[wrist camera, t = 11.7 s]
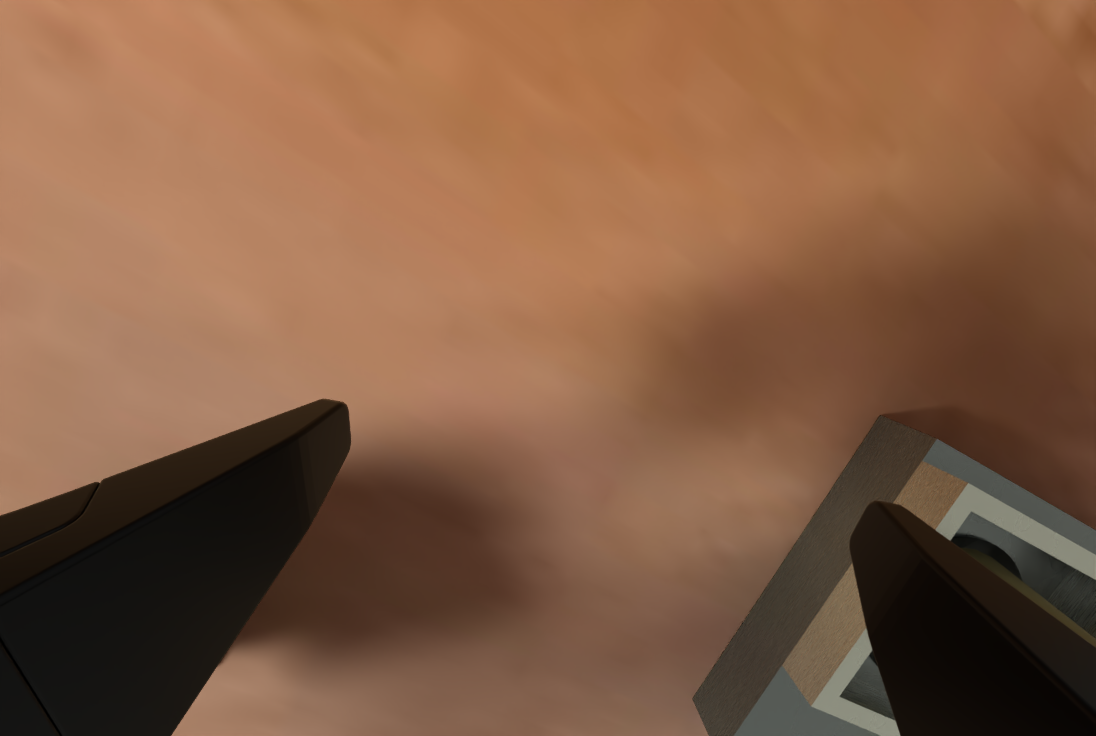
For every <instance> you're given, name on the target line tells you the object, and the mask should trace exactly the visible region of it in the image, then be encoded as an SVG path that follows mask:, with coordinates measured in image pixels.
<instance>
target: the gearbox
mask: <svg viewBox="0 0 1096 736" xmlns="http://www.w3.org/2000/svg"><path fill="white" fill-rule="evenodd" d="M876 500H878V501H884V502H889V503H894V504H899V505H901V506H903V507H905V508H906V509H907V510H909V511H910V512H911V513H913V514H914V515H916V516H917V517H918V518H920V519H921V520H922V521H924V522H925V523H927V524H928V525H929V526H931V527H932V528H933V529H935V530H936V531H937V532H939V533H940V534H942V535H943V536H944V537H946V538H947V539H948V540H950V541H951V542H953V543H954V544H955V545H957V546H958V547H959V548H968V549H976V550H978V551H980V552H982V553H984V554H986V555H988V556H990V557H992V558H993V559H995V560H996V561H997V562H999V563H1000V564H1001V565H1002V566H1004V567H1005V568H1006V569H1007V570H1009V571H1010V572H1011V573H1013V574H1014V575H1015V576H1016V577H1018V578H1019V579H1020V580H1021V581H1023V582H1024V583H1025V584H1027V585H1028V586H1029V587H1030V588H1032V589H1033V590H1034V591H1035V592H1037V593H1038V594H1039V595H1041V596H1042V597H1043V598H1044V599H1046V600H1047V601H1048V602H1049V603H1051V604H1052V605H1053V606H1055V607H1056V608H1057V609H1058V610H1060V611H1061V612H1062V613H1063V614H1065V615H1066V616H1067V617H1069V618H1070V619H1071V620H1072V621H1074V622H1075V623H1076V624H1077V625H1079V626H1080V627H1081V628H1082V629H1084V630H1085V631H1086V632H1088V633H1089V634H1090V635H1091V636H1093V637H1094V638H1095V639H1096V530H1094V529H1092V528H1091V527H1089V526H1087V525H1086V524H1084V523H1082V522H1080V521H1079V520H1077V519H1075V518H1073V517H1072V516H1070V515H1068V514H1067V513H1065V512H1063V511H1061V510H1060V509H1058V508H1056V507H1054V506H1053V505H1051V504H1049V503H1047V502H1046V501H1044V500H1042V499H1041V498H1039V497H1037V496H1035V495H1034V494H1032V493H1030V492H1028V491H1027V490H1025V489H1023V488H1022V487H1020V486H1018V485H1016V484H1015V483H1013V482H1011V481H1009V480H1008V479H1006V478H1004V477H1003V476H1001V475H999V474H997V473H996V472H994V471H992V470H990V469H989V468H987V467H985V466H983V465H982V464H980V463H978V462H977V461H975V460H973V459H971V458H970V457H968V456H966V455H964V454H963V453H961V452H959V451H958V450H956V449H954V448H952V447H951V446H949V445H947V444H945V443H944V442H942V441H940V440H939V439H937V438H934V437H932V436H929V435H927V434H925V433H922V432H920V431H917V430H915V429H913V428H910V427H908V426H905V425H903V424H900V423H898V422H896V421H893V420H891V419H888V418H886V417H884V416H881V415H880V416H879V418H878V419H877V421H876V423H875V424H874V426H873V427H872V429H871V430H870V432H869V433H868V435H867V436H866V438H865V439H864V441H863V442H862V444H861V445H860V447H859V448H858V450H857V451H856V453H855V454H854V456H853V457H852V459H851V460H850V462H849V463H848V465H847V466H846V468H845V469H844V471H843V472H842V474H841V475H840V477H839V478H838V480H837V481H836V483H835V484H834V486H833V487H832V489H831V491H830V492H829V494H828V495H827V497H826V498H825V500H824V501H823V503H822V504H821V506H820V507H819V509H818V510H817V512H816V513H815V515H814V516H813V518H812V519H811V521H810V522H809V524H808V525H807V527H806V528H805V530H804V531H803V533H802V534H801V536H800V537H799V539H798V540H797V542H796V543H795V545H794V546H793V548H792V549H791V551H790V552H789V554H788V556H787V557H786V559H785V560H784V562H783V563H782V565H781V566H780V568H779V569H778V571H777V572H776V574H775V575H774V577H773V578H772V580H771V581H770V583H769V584H768V586H767V587H766V589H765V590H764V592H763V593H762V595H761V596H760V598H759V599H758V601H757V602H756V604H755V605H754V607H753V608H752V610H751V611H750V613H749V614H748V616H747V617H746V619H745V620H744V622H743V624H742V625H741V627H740V628H739V630H738V631H737V633H736V634H735V636H734V637H733V639H732V640H731V642H730V643H729V645H728V646H727V648H726V649H725V651H724V652H723V654H722V655H721V657H720V658H719V660H718V661H717V663H716V664H715V666H714V667H713V669H712V670H711V672H710V673H709V675H708V676H707V678H706V679H705V681H704V682H703V684H702V685H701V687H700V689H699V690H698V692H697V693H696V695H695V696H694V698H693V701H694V703H695V706H696V708H697V710H698V712H699V715H700V717H701V719H702V721H703V724H704V726H705V728H706V730H707V733H708V735H709V736H900V733H899V730H898V727H897V724H896V721H895V718H894V715H893V712H892V709H891V706H890V703H889V700H888V697H887V694H886V691H885V687H884V684H883V681H882V678H881V675H880V672H879V669H878V666H877V663H876V660H875V657H874V654H873V651H872V647H871V644H870V641H869V637H868V633H867V629H866V625H865V620H864V616H863V611H862V606H861V602H860V597H859V592H858V588H857V583H856V578H855V574H854V569H853V564H852V560H851V555H850V549H849V542H850V537H851V534H852V532H853V530H854V529H855V527H856V525H857V523H858V521H859V519H860V518H861V516H862V514H863V512H864V510H865V509H866V507H867V505H868V504H869V503H870V502H872V501H876Z"/></svg>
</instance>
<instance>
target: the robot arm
mask: <svg viewBox="0 0 1096 736" xmlns="http://www.w3.org/2000/svg"><path fill="white" fill-rule="evenodd" d="M350 446H351V433H350V421H349V410H348V407H347V405H346V404H345V403H344V402H340V401H335V400H330V399H320V400H317V401H315V402H312V403H309V404H307V405H304V406H301V407H298V408H296V409H293V410H290V411H287V412H285V413H282V414H279V415H277V416H274V417H271V418H268V419H266V420H263V421H260V422H258V423H255V424H252V425H249V426H247V427H244V428H241V429H239V430H236V431H233V432H230V433H228V434H225V435H222V436H219V437H217V438H214V439H211V440H209V441H206V442H203V443H200V444H198V445H195V446H192V447H190V448H187V449H184V450H181V451H179V452H176V453H173V454H170V455H168V456H165V457H162V458H160V459H157V460H154V461H151V462H149V463H146V464H143V465H141V466H138V467H135V468H132V469H130V470H127V471H124V472H122V473H119V474H116V475H113V476H111V477H108V478H105V479H103V480H102V481H101V482H100V483H99V482H94V483H91V484H89V485H86V486H83V487H80V488H78V489H75V490H72V491H70V492H67V493H64V494H61V495H59V496H56V497H53V498H50V499H47V500H44V501H42V502H39V503H36V504H33V505H30V506H27V507H25V508H22V509H19V510H16V511H13V512H10V513H7V514H4V515H1V516H0V736H171V735H172V734H173V732H174V731H175V729H176V728H177V726H178V725H179V723H180V722H181V720H182V719H183V717H184V716H185V714H186V712H187V711H188V709H189V708H190V706H191V705H192V703H193V702H194V700H195V699H196V697H197V696H198V694H199V693H200V691H201V690H202V688H203V687H204V685H205V684H206V682H207V681H208V679H209V678H210V676H211V675H212V673H213V672H214V670H215V669H216V667H217V666H218V664H219V663H220V661H221V660H222V658H223V657H224V655H225V654H226V652H227V651H228V649H229V648H230V646H231V645H232V643H233V642H234V640H235V639H236V637H237V636H238V634H239V633H240V631H241V630H242V628H243V627H244V625H245V624H246V622H247V621H248V619H249V618H250V616H251V615H252V613H253V612H254V610H255V609H256V607H257V606H258V604H259V603H260V601H261V600H262V598H263V597H264V595H265V594H266V592H267V591H268V589H269V588H270V586H271V585H272V583H273V582H274V580H275V579H276V577H277V576H278V574H279V573H280V571H281V570H282V568H283V567H284V565H285V564H286V562H287V561H288V559H289V558H290V556H291V555H292V553H293V552H294V550H295V549H296V547H297V545H298V544H299V542H300V541H301V539H302V538H303V536H304V535H305V533H306V532H307V530H308V529H309V527H310V525H311V524H312V522H313V520H314V518H315V516H316V515H317V513H318V511H319V509H320V507H321V505H322V503H323V501H324V499H325V497H326V495H327V493H328V491H329V490H330V488H331V486H332V484H333V482H334V480H335V478H336V476H337V474H338V472H339V470H340V468H341V466H342V464H343V462H344V460H345V459H346V457H347V455H348V452H349V450H350ZM849 549H850V555H851V560H852V564H853V569H854V574H855V578H856V583H857V588H858V592H859V597H860V602H861V606H862V611H863V616H864V620H865V625H866V629H867V633H868V637H869V641H870V644H871V647H872V651H873V654H874V657H875V660H876V663H877V666H878V669H879V672H880V675H881V678H882V681H883V684H884V687H885V691H886V694H887V697H888V700H889V703H890V706H891V709H892V712H893V715H894V718H895V721H896V724H897V727H898V730H899V733H900V736H1096V647H1095V646H1093V645H1092V644H1091V643H1089V642H1088V641H1087V640H1085V639H1084V638H1083V637H1081V636H1080V635H1078V634H1077V633H1076V632H1074V631H1073V630H1072V629H1070V628H1069V627H1067V626H1066V625H1065V624H1063V623H1062V622H1061V621H1059V620H1058V619H1057V618H1055V617H1054V616H1052V615H1051V614H1050V613H1048V612H1047V611H1046V610H1044V609H1043V608H1041V607H1040V606H1039V605H1037V604H1036V603H1035V602H1033V601H1032V600H1031V599H1029V598H1028V597H1026V596H1025V595H1024V594H1022V593H1021V592H1020V591H1018V590H1017V589H1015V588H1014V587H1013V586H1011V585H1010V584H1009V583H1007V582H1006V581H1005V580H1003V579H1002V578H1000V577H999V576H998V575H996V574H995V573H994V572H992V571H991V570H989V569H988V568H987V567H985V566H984V565H983V564H981V563H980V562H979V561H977V560H976V559H974V558H973V557H972V556H970V555H969V554H968V553H966V552H965V551H963V550H962V549H961V548H959V547H958V546H957V545H955V544H954V543H953V542H951V541H950V540H948V539H947V538H946V537H944V536H943V535H942V534H940V533H939V532H937V531H936V530H935V529H933V528H932V527H931V526H929V525H928V524H927V523H925V522H924V521H922V520H921V519H920V518H918V517H917V516H916V515H914V514H913V513H911V512H910V511H909V510H907V509H906V508H905V507H903V506H901V505H899V504H894V503H889V502H884V501H878V500H876V501H872V502H870V503H869V504H868V505H867V507H866V509H865V510H864V512H863V514H862V516H861V518H860V519H859V521H858V523H857V525H856V527H855V529H854V530H853V532H852V534H851V537H850V542H849Z"/></svg>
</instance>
